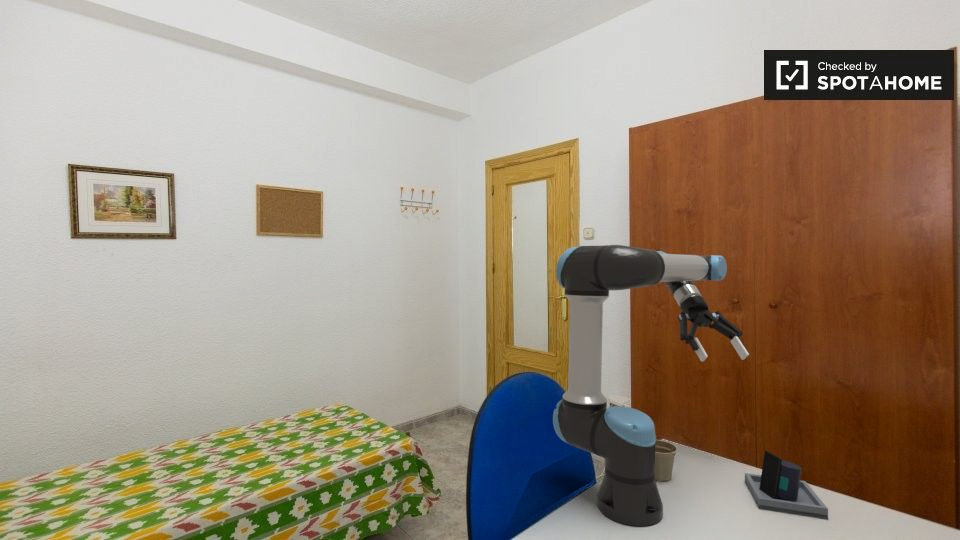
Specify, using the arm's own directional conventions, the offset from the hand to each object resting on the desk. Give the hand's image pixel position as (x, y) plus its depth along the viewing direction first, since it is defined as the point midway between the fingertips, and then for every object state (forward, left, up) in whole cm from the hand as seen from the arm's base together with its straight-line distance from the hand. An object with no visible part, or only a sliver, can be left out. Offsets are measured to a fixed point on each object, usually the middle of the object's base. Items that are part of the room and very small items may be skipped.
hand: (725, 358), depth 127 cm
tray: (+11, -13, -33) cm, 37 cm away
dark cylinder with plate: (+10, -13, -32) cm, 36 cm away
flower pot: (-18, -10, -33) cm, 39 cm away
